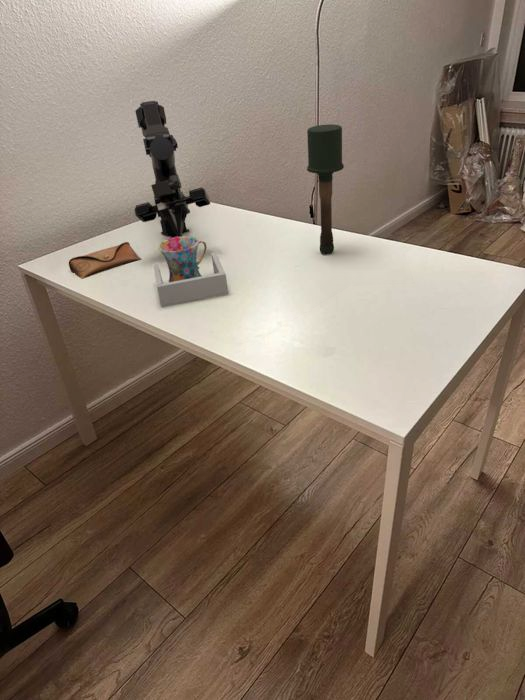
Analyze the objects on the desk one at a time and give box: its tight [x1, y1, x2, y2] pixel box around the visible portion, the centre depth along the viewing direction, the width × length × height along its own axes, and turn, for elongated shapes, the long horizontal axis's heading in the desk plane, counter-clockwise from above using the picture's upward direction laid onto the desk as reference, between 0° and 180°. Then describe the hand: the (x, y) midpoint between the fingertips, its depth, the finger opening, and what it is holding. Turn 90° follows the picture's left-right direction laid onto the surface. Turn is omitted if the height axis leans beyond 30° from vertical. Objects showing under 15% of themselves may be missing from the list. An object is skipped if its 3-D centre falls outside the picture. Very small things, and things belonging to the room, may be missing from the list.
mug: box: [157, 235, 207, 283], centre depth 116 cm, size 12×9×11 cm
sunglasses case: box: [68, 241, 142, 280], centre depth 133 cm, size 18×7×7 cm
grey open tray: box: [153, 252, 229, 308], centre depth 115 cm, size 14×15×5 cm
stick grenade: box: [306, 123, 345, 255], centre depth 118 cm, size 8×9×30 cm
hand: (179, 236), depth 125 cm, fingers closed
